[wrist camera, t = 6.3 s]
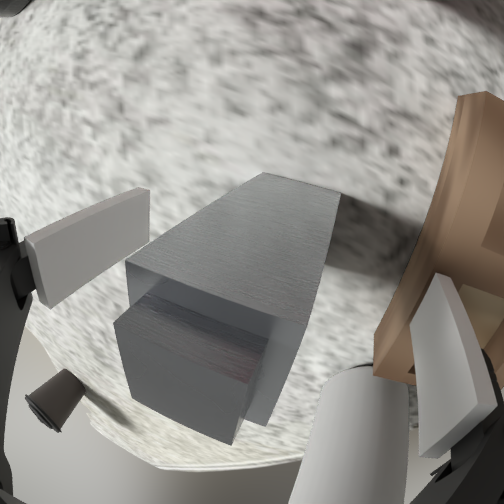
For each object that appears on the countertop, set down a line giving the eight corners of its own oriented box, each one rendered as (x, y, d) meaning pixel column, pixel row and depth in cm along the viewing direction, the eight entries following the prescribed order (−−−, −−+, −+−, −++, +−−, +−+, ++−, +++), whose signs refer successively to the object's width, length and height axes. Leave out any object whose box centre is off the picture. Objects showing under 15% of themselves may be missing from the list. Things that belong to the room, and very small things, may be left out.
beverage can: (425, 382, 16) (421, 543, 6) (366, 421, 20) (339, 554, 10) (361, 344, 17) (327, 535, 7) (305, 390, 20) (253, 535, 10)
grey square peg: (263, 172, 14) (87, 287, 5) (341, 193, 14) (291, 374, 4) (250, 242, 16) (118, 398, 7) (320, 263, 16) (251, 461, 6)
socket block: (457, 96, 9) (486, 91, 7) (574, 169, 7) (607, 185, 5) (373, 334, 16) (372, 375, 13) (482, 362, 14) (492, 399, 11)
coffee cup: (67, 384, 41) (35, 418, 33) (51, 354, 38) (14, 390, 29) (98, 405, 39) (65, 444, 31) (81, 376, 36) (42, 418, 27)
